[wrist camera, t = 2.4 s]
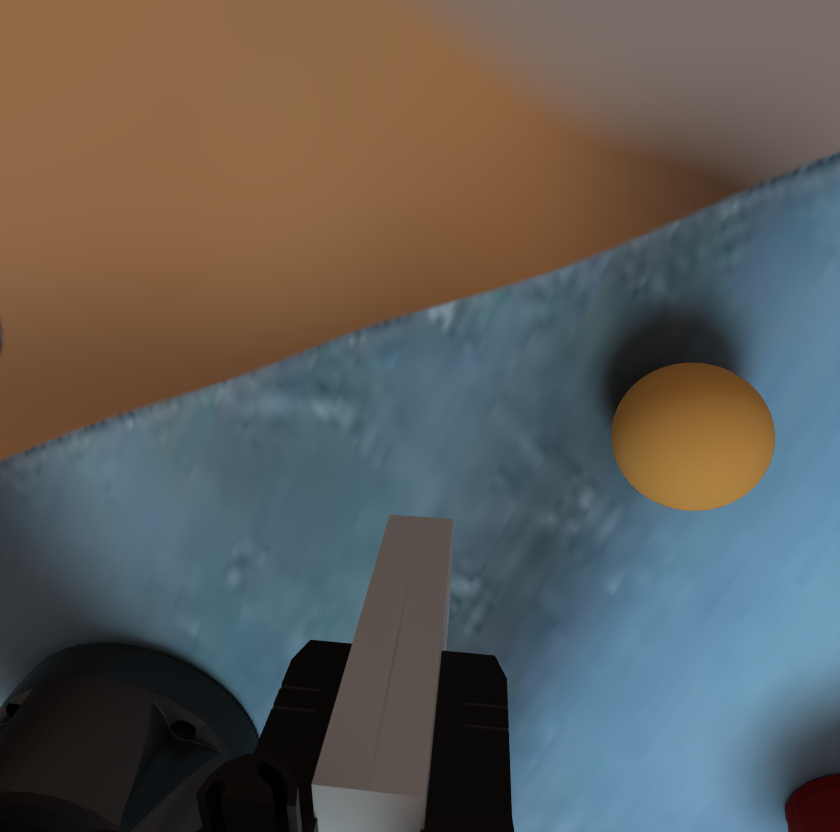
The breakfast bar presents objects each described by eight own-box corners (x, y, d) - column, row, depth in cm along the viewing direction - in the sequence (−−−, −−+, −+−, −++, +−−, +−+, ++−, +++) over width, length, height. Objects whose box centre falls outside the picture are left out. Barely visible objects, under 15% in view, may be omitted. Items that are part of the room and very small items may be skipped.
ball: (591, 464, 25) (618, 535, 20) (608, 342, 23) (644, 387, 18) (721, 471, 25) (782, 546, 20) (750, 348, 23) (827, 396, 18)
